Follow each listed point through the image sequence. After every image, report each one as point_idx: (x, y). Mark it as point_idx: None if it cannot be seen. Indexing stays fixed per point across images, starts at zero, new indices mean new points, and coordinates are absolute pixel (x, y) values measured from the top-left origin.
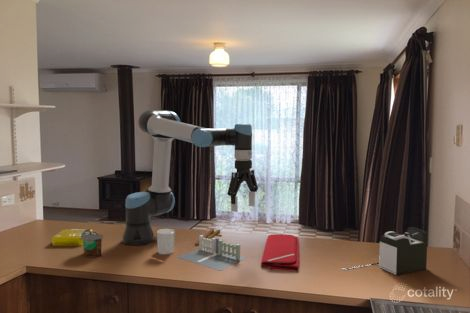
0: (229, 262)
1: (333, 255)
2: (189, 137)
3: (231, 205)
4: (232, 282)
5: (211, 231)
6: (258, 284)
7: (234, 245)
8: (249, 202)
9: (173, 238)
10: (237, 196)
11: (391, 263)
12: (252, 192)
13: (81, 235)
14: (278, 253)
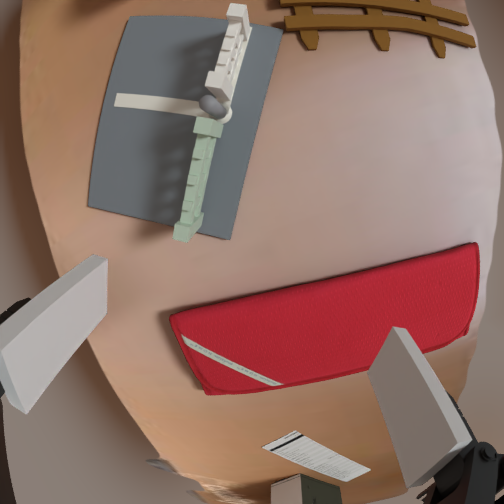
0: (155, 201)
1: (349, 425)
2: None
3: (60, 279)
4: (63, 264)
5: (446, 16)
6: None
7: (190, 209)
8: (400, 356)
9: None
10: (27, 413)
11: (278, 494)
12: (417, 474)
13: None
14: (265, 350)
